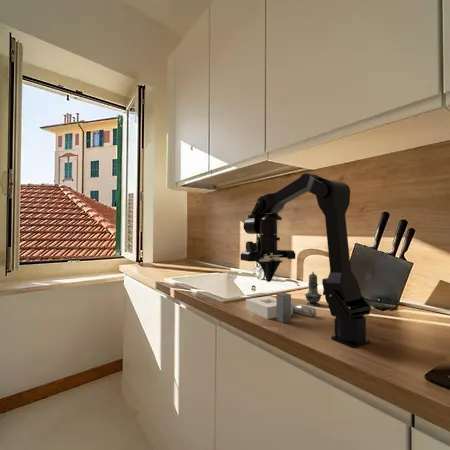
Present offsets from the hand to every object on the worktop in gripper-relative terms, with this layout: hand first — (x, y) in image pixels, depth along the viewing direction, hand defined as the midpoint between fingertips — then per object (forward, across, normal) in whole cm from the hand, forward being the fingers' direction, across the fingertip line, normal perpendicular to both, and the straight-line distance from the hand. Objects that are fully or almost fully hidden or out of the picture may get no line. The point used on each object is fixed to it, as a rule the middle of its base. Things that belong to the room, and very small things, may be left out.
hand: (268, 281), depth 97 cm
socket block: (+10, 0, 0) cm, 10 cm away
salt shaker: (+10, -20, 0) cm, 22 cm away
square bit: (+10, +2, +10) cm, 14 cm away
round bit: (+10, -9, +7) cm, 15 cm away
